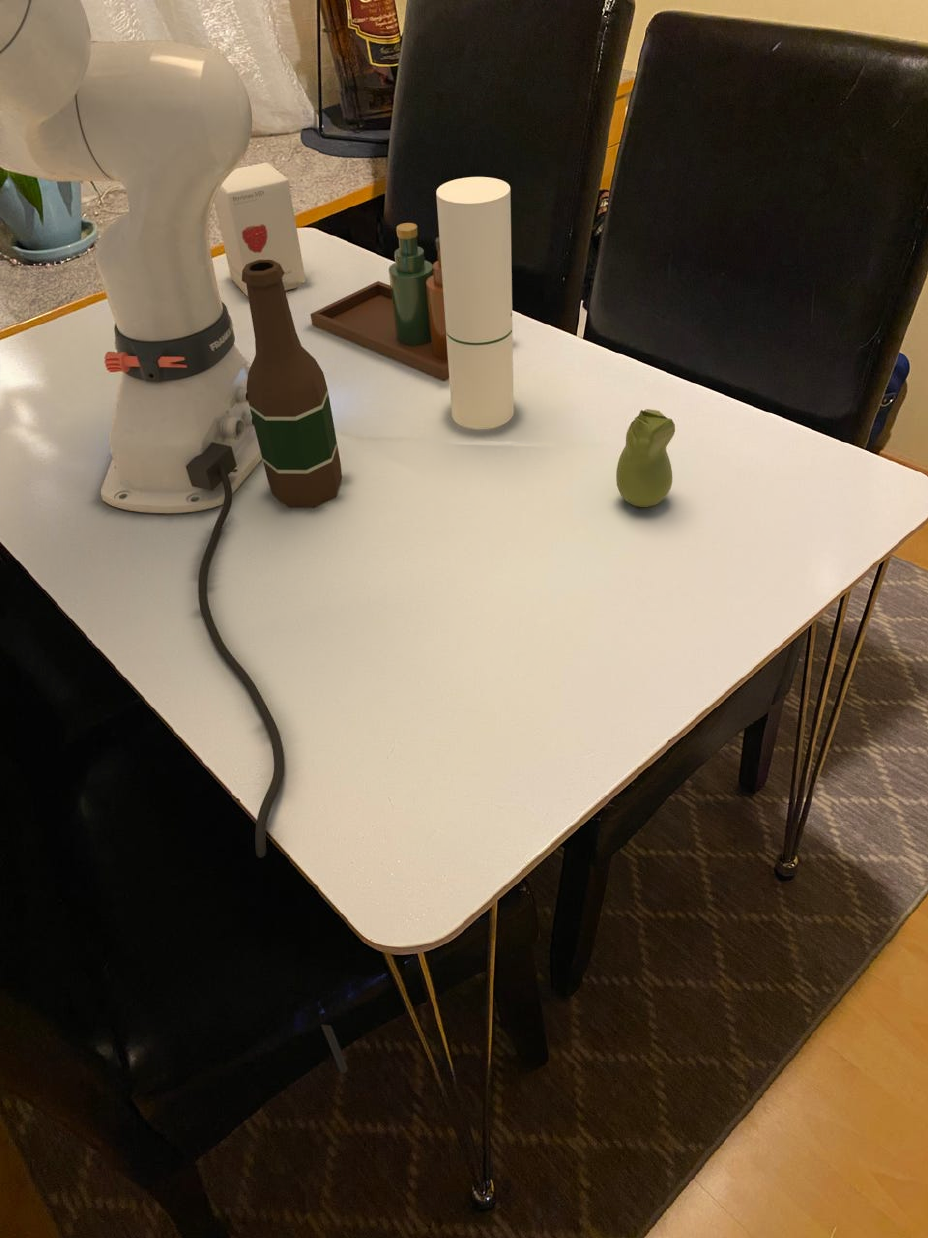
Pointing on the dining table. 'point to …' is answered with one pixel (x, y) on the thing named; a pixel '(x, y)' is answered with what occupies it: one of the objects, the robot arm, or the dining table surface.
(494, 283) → the cylindrical container
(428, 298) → the amber bottle
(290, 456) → the beer bottle
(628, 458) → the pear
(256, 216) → the white product box
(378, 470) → the dining table surface
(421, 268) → the green bottle
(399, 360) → the tray
